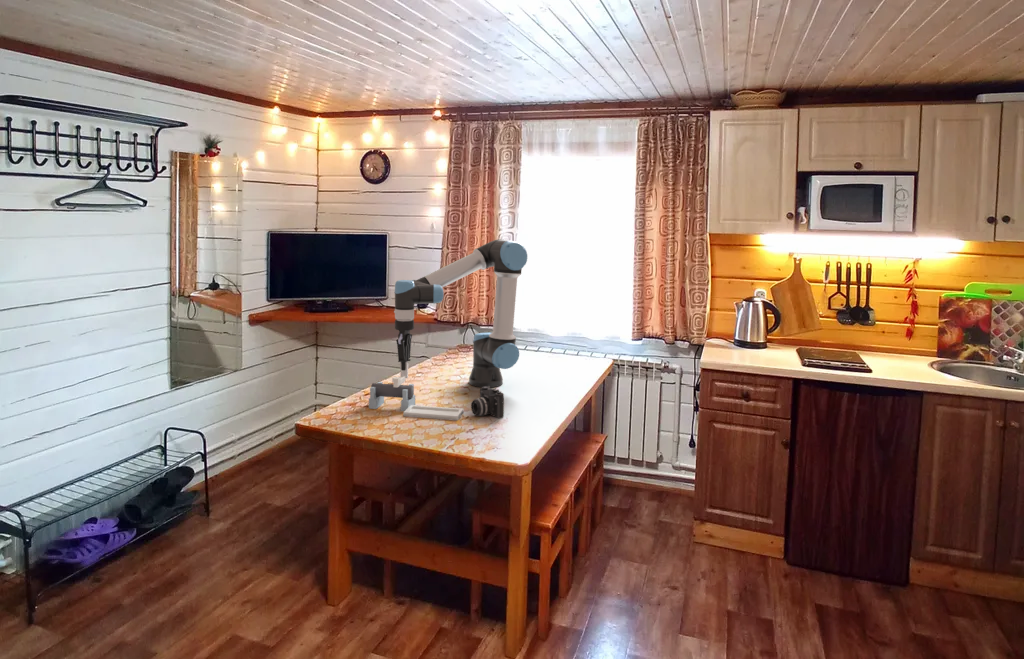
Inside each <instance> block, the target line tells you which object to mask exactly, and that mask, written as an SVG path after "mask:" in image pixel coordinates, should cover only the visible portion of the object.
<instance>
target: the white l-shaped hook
mask: <svg viewBox="0 0 1024 659" xmlns="http://www.w3.org/2000/svg"><path fill="white" fill-rule="evenodd" d="M391 380H392V383H393V384H394V387H397V388H398V387H399V386H400V385H403V384H404V383H405V382H406V378H405V376H401V375H400V376H393V377H392V379H391Z"/></svg>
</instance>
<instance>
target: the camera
mask: <svg viewBox="0 0 1024 659" xmlns="http://www.w3.org/2000/svg"><path fill="white" fill-rule="evenodd" d="M504 399H505V397H504V393H503V392H502V391H500V390H499V389H497V388H496V387H490V386H488V387H486V386H484V387H480V388H479V398H476V399H473V401H471V403H470V410H471V412H472V414H473V415H474V416H478V417H479V416H487V415H491V416H493V417H495V418H497V419H501V418H504V415H505V414H504V413H505V411H504V410H505V407H504V406H505V405H504V404H505V400H504Z"/></svg>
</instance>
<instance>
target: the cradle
mask: <svg viewBox="0 0 1024 659" xmlns="http://www.w3.org/2000/svg"><path fill="white" fill-rule="evenodd" d="M377 383H380V384H383V381H378V382H377ZM414 384H415V383H409V384H408V385H409V386H413V387H414V386H415V385H414ZM369 395H370V396H369V398H368V409H371V410H373V409H374V410H377V409H378V408H380V407H381V406H382V405H383V404H384V403H385V397H383V396H376V387H371V386H370V388H369ZM411 405H416V394H415V393H414V394H413V397H412V398H408V389H403V390H402V398H401V401H400V411H401V412H404V411H405V410H406V409H407V408H408V407H409V406H411Z"/></svg>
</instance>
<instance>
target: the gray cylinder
mask: <svg viewBox="0 0 1024 659" xmlns="http://www.w3.org/2000/svg"><path fill="white" fill-rule="evenodd" d="M371 387H376V396H383V397H384V398H401V399H402V390H403V389H408V398H412V397H413V394H414V395H415V392H414V391H415V388H414V387H413V386H409V384H401V385H400V386H399V387H398V388H397V387H394V383H382V384H380V383H378V382H377V383H376V382H372V383H371V386H370V388H371Z"/></svg>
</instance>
